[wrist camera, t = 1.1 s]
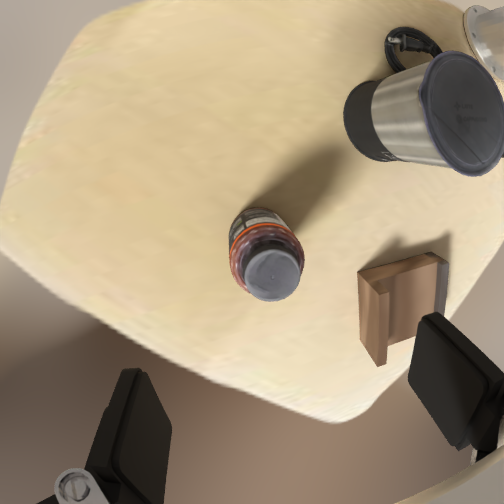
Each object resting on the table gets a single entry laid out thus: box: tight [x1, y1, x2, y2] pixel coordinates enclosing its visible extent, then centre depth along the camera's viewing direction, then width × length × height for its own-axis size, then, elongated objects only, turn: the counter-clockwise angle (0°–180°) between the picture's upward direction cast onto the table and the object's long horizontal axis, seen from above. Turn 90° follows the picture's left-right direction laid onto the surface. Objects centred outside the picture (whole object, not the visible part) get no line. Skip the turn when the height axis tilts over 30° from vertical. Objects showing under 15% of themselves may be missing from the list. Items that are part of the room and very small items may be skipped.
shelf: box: [357, 252, 449, 367], centre depth 33 cm, size 12×10×6 cm
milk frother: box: [343, 27, 504, 177], centre depth 20 cm, size 14×16×15 cm
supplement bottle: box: [229, 208, 305, 302], centre depth 26 cm, size 6×6×11 cm
